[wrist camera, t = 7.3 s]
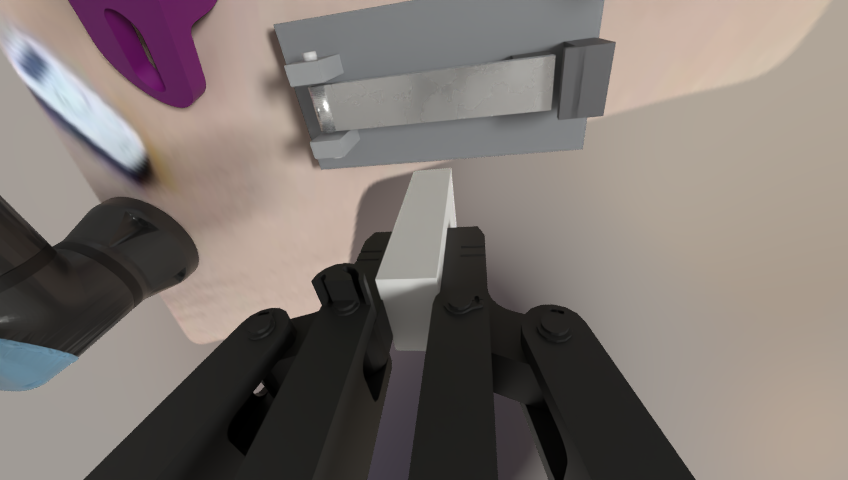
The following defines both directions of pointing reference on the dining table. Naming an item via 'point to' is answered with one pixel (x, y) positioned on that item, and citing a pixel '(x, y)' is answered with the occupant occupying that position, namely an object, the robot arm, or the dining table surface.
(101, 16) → the mounting bracket
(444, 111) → the grey long flat bar
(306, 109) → the latch base
